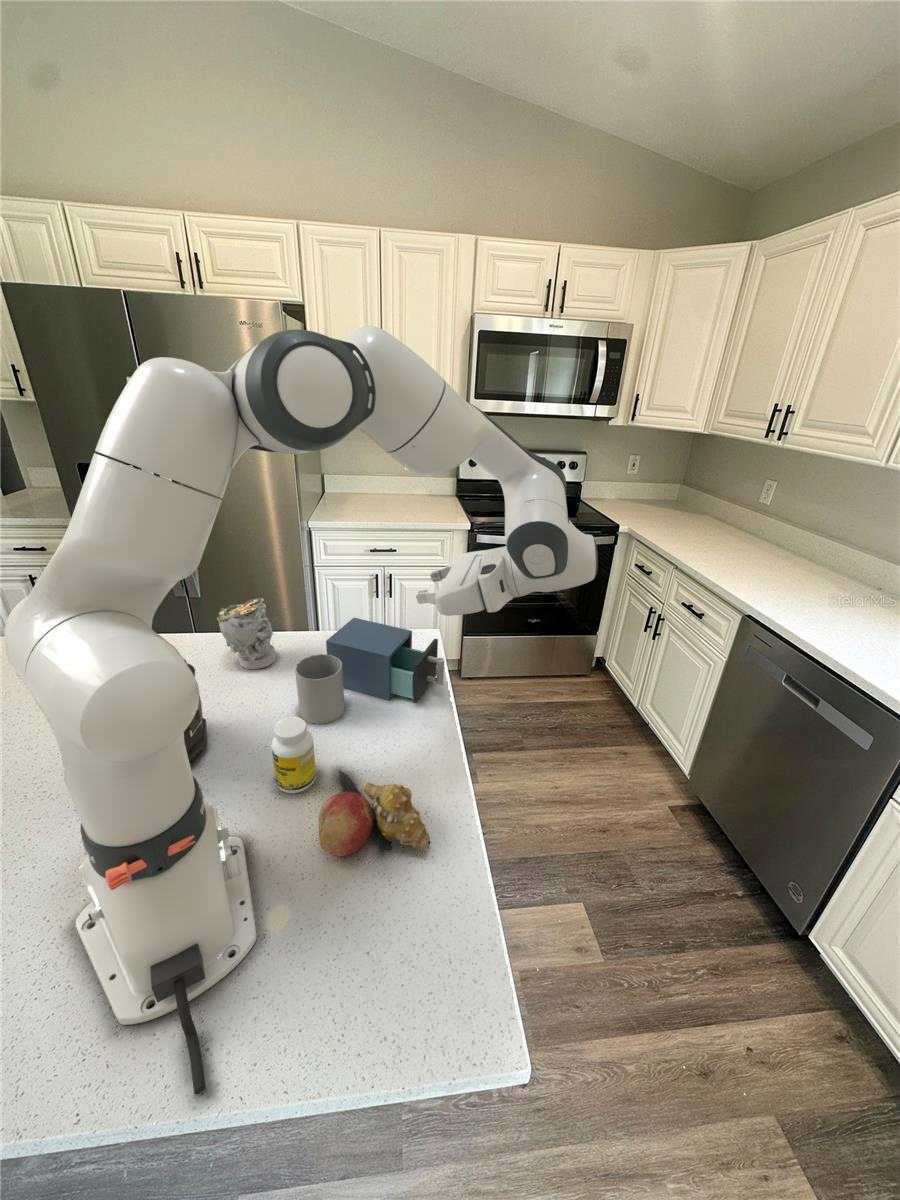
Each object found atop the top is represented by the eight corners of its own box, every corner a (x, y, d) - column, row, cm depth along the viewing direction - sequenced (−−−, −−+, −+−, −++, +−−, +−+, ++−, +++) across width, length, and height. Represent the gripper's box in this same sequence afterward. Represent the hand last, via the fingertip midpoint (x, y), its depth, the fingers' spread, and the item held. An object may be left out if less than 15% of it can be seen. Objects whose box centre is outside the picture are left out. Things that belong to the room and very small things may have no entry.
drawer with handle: (451, 679, 104) (453, 642, 100) (432, 708, 95) (434, 669, 91) (380, 661, 109) (379, 625, 105) (356, 687, 100) (354, 649, 96)
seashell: (379, 839, 74) (441, 837, 72) (354, 859, 67) (422, 858, 64) (374, 776, 76) (434, 772, 73) (349, 788, 68) (415, 784, 66)
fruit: (336, 772, 68) (345, 820, 62) (377, 787, 73) (389, 833, 66) (302, 808, 70) (307, 859, 63) (344, 821, 74) (353, 870, 67)
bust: (291, 662, 106) (267, 601, 101) (241, 683, 102) (214, 620, 96) (282, 648, 115) (259, 591, 110) (236, 666, 111) (211, 608, 106)
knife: (399, 843, 68) (380, 852, 66) (398, 848, 68) (379, 856, 67) (346, 765, 81) (329, 770, 80) (346, 769, 82) (329, 774, 80)
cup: (349, 698, 98) (347, 656, 94) (337, 725, 91) (334, 681, 86) (308, 694, 99) (304, 652, 94) (293, 721, 91) (287, 676, 87)
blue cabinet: (411, 672, 108) (412, 630, 103) (389, 700, 98) (388, 656, 94) (355, 657, 112) (353, 617, 107) (329, 683, 102) (325, 640, 98)
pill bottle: (268, 785, 77) (259, 731, 73) (296, 760, 82) (289, 708, 78) (297, 801, 75) (290, 746, 70) (324, 774, 80) (320, 721, 75)
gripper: (503, 537, 91) (434, 550, 95) (486, 579, 73) (402, 594, 78) (510, 568, 93) (443, 580, 98) (496, 616, 76) (414, 628, 80)
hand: (425, 586), depth 88 cm, fingers open, 8 cm apart
